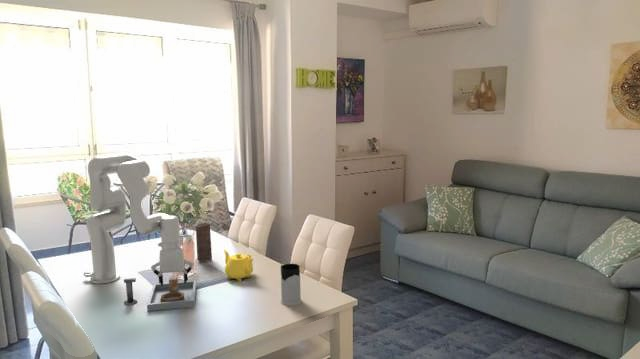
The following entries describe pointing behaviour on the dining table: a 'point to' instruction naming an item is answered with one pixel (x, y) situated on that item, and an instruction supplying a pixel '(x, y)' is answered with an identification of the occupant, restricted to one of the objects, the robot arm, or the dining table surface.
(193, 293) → the tray
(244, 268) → the teapot
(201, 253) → the candle
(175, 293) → the ring
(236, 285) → the dining table surface
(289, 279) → the glass holder
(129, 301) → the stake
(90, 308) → the dining table surface
